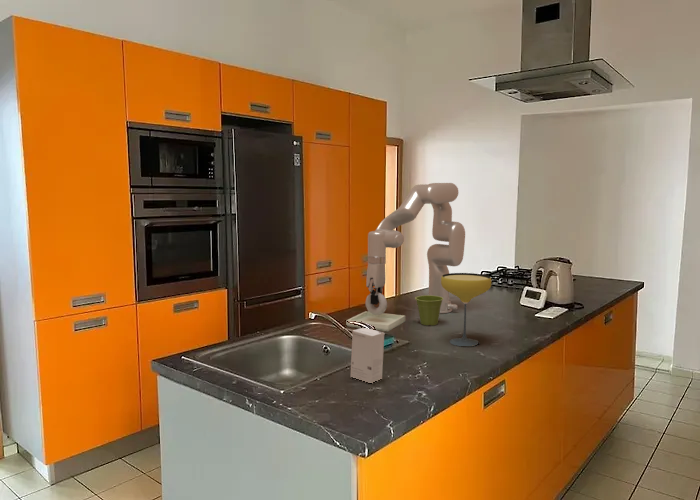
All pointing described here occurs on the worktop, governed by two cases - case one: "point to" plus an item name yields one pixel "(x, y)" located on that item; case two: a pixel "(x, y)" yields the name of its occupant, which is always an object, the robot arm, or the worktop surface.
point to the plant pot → (429, 309)
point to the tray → (378, 320)
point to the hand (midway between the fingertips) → (376, 302)
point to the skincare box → (367, 355)
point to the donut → (376, 310)
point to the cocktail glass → (465, 295)
